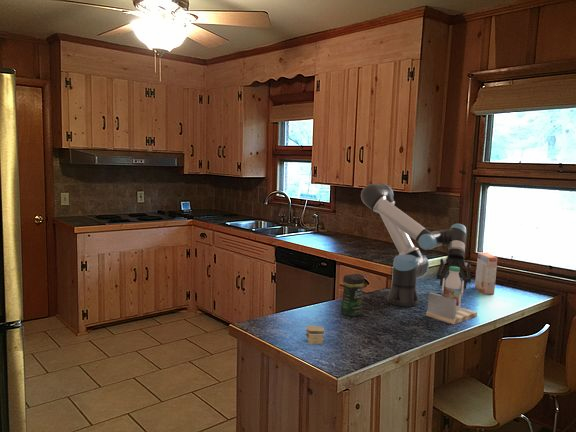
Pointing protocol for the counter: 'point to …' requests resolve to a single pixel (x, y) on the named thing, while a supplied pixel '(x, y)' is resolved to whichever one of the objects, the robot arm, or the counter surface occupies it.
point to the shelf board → (459, 316)
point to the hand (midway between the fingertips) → (452, 293)
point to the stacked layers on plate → (315, 334)
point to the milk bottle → (453, 286)
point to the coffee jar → (352, 295)
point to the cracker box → (486, 273)
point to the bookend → (442, 305)
